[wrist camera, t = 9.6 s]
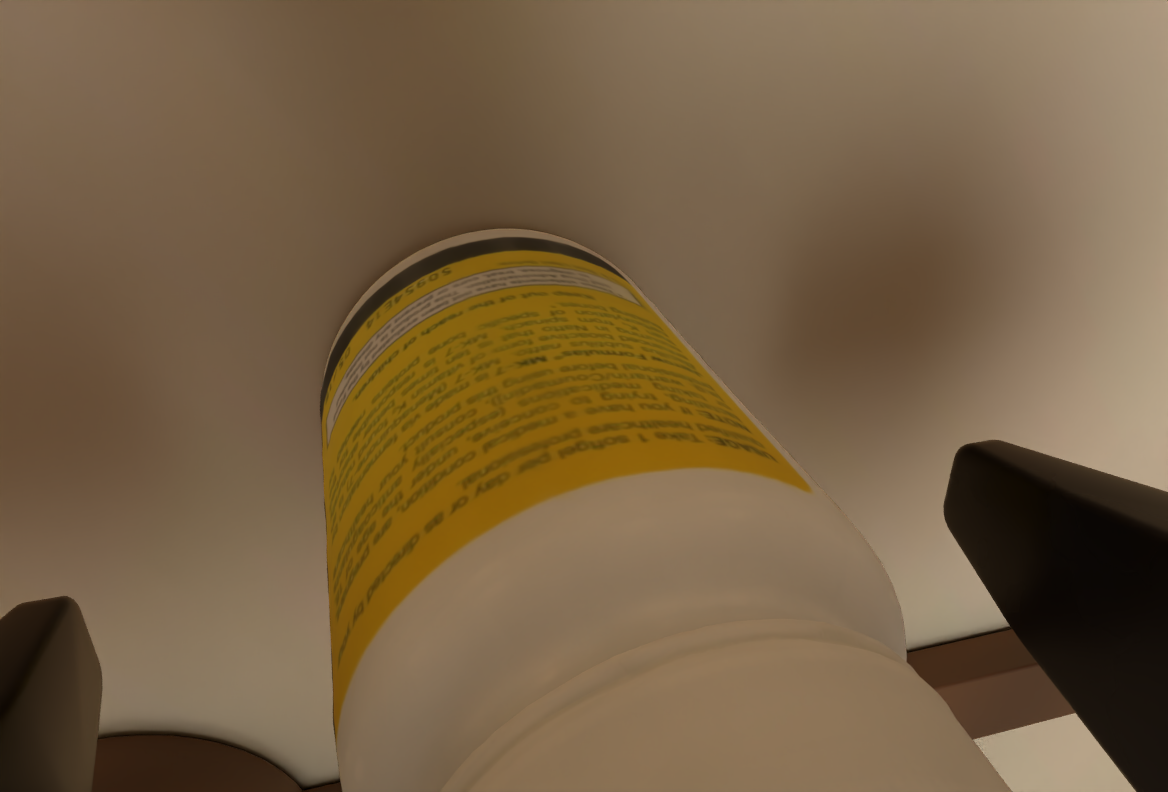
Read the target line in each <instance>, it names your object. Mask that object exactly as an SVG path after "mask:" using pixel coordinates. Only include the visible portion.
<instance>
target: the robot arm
mask: <svg viewBox="0 0 1168 792" xmlns="http://www.w3.org/2000/svg"><path fill="white" fill-rule="evenodd" d="M944 517H945V521H946V523H947V526H948V528H949V530H950V531H951V533H952V535H953V536H954V538H955V539H956V541H957V542H958V544H959V546H960V547H961V549H962V550H963V552H964V554H965V555H966V557H967V558H968V560H969V562H970V563H971V565H972V566H973V568H974V569H975V571H976V573H977V574H978V576H979V577H980V579H981V581H982V582H983V584H984V585H985V587H986V589H987V590H988V592H989V593H990V595H991V596H992V598H993V600H994V601H995V603H996V604H997V606H998V608H999V609H1000V611H1001V612H1002V614H1003V616H1004V617H1005V619H1006V620H1007V622H1008V623H1009V625H1010V626H1011V628H1012V629H1013V631H1014V632H1015V634H1016V635H1017V637H1018V638H1019V640H1020V641H1021V642H1022V644H1023V645H1024V646H1025V648H1026V649H1027V651H1028V652H1029V653H1030V655H1031V656H1032V657H1033V659H1034V660H1035V661H1036V662H1037V664H1038V665H1039V666H1040V668H1041V669H1042V670H1043V671H1044V673H1045V674H1046V675H1047V677H1048V678H1049V679H1050V681H1051V682H1052V683H1053V684H1054V686H1055V687H1056V688H1057V690H1058V691H1059V692H1060V694H1061V695H1062V696H1063V697H1064V699H1065V700H1066V701H1067V703H1068V704H1069V705H1070V706H1071V708H1072V709H1073V710H1074V712H1075V713H1076V714H1077V716H1078V717H1079V718H1080V719H1081V721H1082V722H1083V723H1084V725H1085V726H1086V727H1087V729H1088V730H1089V731H1090V732H1091V734H1092V735H1093V736H1094V738H1095V739H1096V740H1097V741H1098V743H1099V744H1100V745H1101V747H1102V748H1103V749H1104V751H1105V752H1106V753H1107V754H1108V756H1109V757H1110V758H1111V760H1112V761H1113V762H1114V763H1115V765H1116V766H1117V767H1118V769H1119V770H1120V771H1121V773H1122V774H1123V775H1124V776H1125V778H1126V779H1127V780H1128V782H1129V783H1130V784H1131V786H1132V787H1133V788H1134V789H1135V791H1136V792H1168V492H1166V491H1163V490H1159V489H1156V488H1153V487H1150V486H1146V485H1143V484H1140V483H1137V482H1133V481H1130V480H1127V479H1124V478H1120V477H1117V476H1114V475H1111V474H1107V473H1104V472H1101V471H1098V470H1094V469H1091V468H1088V467H1085V466H1081V465H1078V464H1075V463H1072V462H1068V461H1065V460H1062V459H1059V458H1055V457H1052V456H1049V455H1046V454H1042V453H1039V452H1036V451H1033V450H1029V449H1026V448H1023V447H1020V446H1016V445H1013V444H1010V443H1007V442H1003V441H999V440H988V441H982V442H976V443H970V444H966V445H964V446H962V447H960V449H959V450H958V451H957V453H956V455H955V457H954V461H953V466H952V470H951V474H950V479H949V483H948V488H947V492H946V496H945V501H944ZM101 699H102V672H101V667H100V663H99V660H98V657H97V654H96V652H95V649H94V646H93V643H92V641H91V638H90V635H89V632H88V629H87V627H86V624H85V621H84V618H83V616H82V613H81V610H80V608H79V606H78V604H77V603H76V602H75V600H74V599H72V598H70V597H68V596H60V597H54V598H48V599H42V600H36V601H30V602H25V603H22V604H19V605H17V606H16V607H15V608H13V609H12V610H11V611H9V612H8V613H7V614H6V615H5V616H4V617H2V618H1V619H0V792H92V787H93V778H94V768H95V758H96V748H97V738H98V728H99V718H100V708H101Z"/></svg>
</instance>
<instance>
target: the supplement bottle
mask: <svg viewBox="0 0 1168 792" xmlns="http://www.w3.org/2000/svg"><path fill="white" fill-rule="evenodd" d="M320 417H321V432H322V457H323V474H324V506H325V517H326V535H327V573H328V591H329V609H330V632H331V654H332V679H333V726H334V734H335V742H336V752H337V759H338V767H339V775H340V781H341V786H342V792H1012V791H1011V789H1010V788H1009V787H1008V786H1007V784H1006V783H1005V782H1004V780H1003V779H1002V778H1001V776H1000V775H999V774H998V772H997V771H996V770H995V768H994V767H993V766H992V764H991V763H990V762H989V760H988V759H987V758H986V756H985V755H984V754H983V752H982V751H981V750H980V749H979V747H978V746H977V745H976V744H975V742H974V741H973V740H972V738H971V737H970V736H969V735H968V733H967V732H966V731H965V730H964V728H963V727H962V726H961V724H960V723H959V722H958V721H957V719H956V718H955V716H954V714H953V713H952V711H951V709H950V708H949V706H948V704H947V703H946V702H945V701H944V700H943V698H942V697H941V696H940V695H939V694H938V692H936V691H935V690H934V689H933V688H932V687H931V686H930V685H929V684H928V683H926V682H925V681H924V680H923V679H922V678H921V677H920V676H919V675H918V674H917V673H916V671H915V670H914V669H913V668H912V667H911V666H910V665H909V664H908V663H907V662H906V661H907V652H906V640H905V630H904V621H903V616H902V612H901V608H900V605H899V602H898V599H897V596H896V593H895V590H894V588H893V585H892V583H891V581H890V579H889V577H888V574H887V572H886V570H885V569H884V567H883V565H882V563H881V561H880V560H879V558H878V557H877V555H876V554H875V552H874V551H873V549H872V548H871V546H870V545H869V543H868V542H867V541H866V540H865V538H864V537H863V536H862V534H861V533H860V532H859V531H858V529H857V528H856V527H855V526H854V525H853V523H852V522H851V521H850V520H849V519H848V517H847V516H846V515H845V514H844V513H843V512H842V511H841V510H840V508H839V507H838V506H837V505H836V504H835V503H834V502H833V501H832V500H831V499H830V497H829V496H828V495H827V494H826V493H825V492H824V491H823V490H822V489H821V488H820V487H819V485H818V484H817V483H816V482H815V481H814V480H813V479H812V478H811V477H810V476H809V475H808V474H807V472H806V471H805V470H804V469H803V468H802V467H801V466H800V465H799V464H798V463H797V462H796V461H795V460H794V458H793V457H792V456H791V455H790V454H789V453H788V452H787V451H786V450H785V449H784V448H783V447H782V446H781V445H780V443H779V442H778V441H777V440H776V439H775V438H774V437H773V436H772V435H771V434H770V433H769V432H768V431H767V429H766V428H765V427H764V426H763V425H762V424H761V423H760V422H759V421H758V420H757V419H756V418H755V417H754V416H753V415H752V414H751V412H750V411H749V410H748V409H747V408H746V407H745V406H744V405H743V404H742V403H741V402H740V400H739V399H738V398H737V397H736V396H735V395H734V394H733V393H732V392H731V390H730V389H729V388H728V387H727V386H726V385H725V384H724V383H723V382H722V380H721V379H720V378H719V377H718V376H717V375H716V374H715V373H714V371H713V370H712V369H711V368H710V367H709V366H708V365H707V364H706V362H705V361H704V360H703V359H702V358H701V357H700V356H699V355H698V353H697V352H696V351H695V350H694V349H693V348H692V347H691V346H690V345H689V344H688V343H687V342H686V340H685V339H684V338H683V337H682V336H681V335H680V334H679V333H678V332H677V330H676V329H675V328H674V327H673V326H672V325H671V324H670V323H669V321H668V320H667V319H666V318H665V317H664V316H663V315H662V313H661V312H660V311H659V310H658V308H657V307H656V306H655V305H654V304H653V303H652V302H651V301H650V300H649V299H648V298H647V297H646V296H645V294H644V293H643V292H642V291H641V290H640V289H639V288H638V286H637V285H636V284H635V283H634V282H633V281H632V280H631V279H630V278H629V277H628V276H627V275H626V274H625V273H623V272H622V271H621V270H620V269H619V268H617V267H616V266H615V265H614V264H612V263H611V262H610V261H608V260H607V259H605V258H604V257H602V256H601V255H599V254H597V253H595V252H594V251H592V250H590V249H588V248H586V247H584V246H582V245H580V244H578V243H575V242H573V241H571V240H568V239H565V238H562V237H559V236H556V235H552V234H549V233H545V232H539V231H534V230H525V229H490V230H482V231H476V232H471V233H465V234H461V235H457V236H454V237H451V238H448V239H445V240H442V241H439V242H437V243H435V244H432V245H430V246H428V247H426V248H424V249H421V250H419V251H417V252H416V253H414V254H412V255H411V256H409V257H408V258H406V259H404V260H403V261H401V262H400V263H398V264H397V265H395V266H394V267H393V268H391V269H390V270H389V271H387V272H386V273H385V274H384V275H383V276H382V277H380V278H379V279H378V280H377V281H376V282H375V283H374V284H373V285H372V286H371V287H370V288H369V289H368V290H367V291H366V292H365V293H364V295H363V296H362V297H361V298H360V300H359V301H358V302H357V303H356V305H355V306H354V307H353V309H352V310H351V312H350V313H349V314H348V316H347V318H346V319H345V321H344V323H343V325H342V326H341V328H340V330H339V332H338V334H337V336H336V338H335V340H334V343H333V345H332V348H331V351H330V353H329V356H328V360H327V363H326V367H325V372H324V377H323V384H322V390H321V401H320Z"/></svg>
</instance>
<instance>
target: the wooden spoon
mask: <svg viewBox="0 0 1168 792" xmlns="http://www.w3.org/2000/svg"><path fill="white" fill-rule="evenodd" d="M906 662H907V663H908V664H909V665H910V666H911V667H912V668H913V669H914V670H915V671H916V673H917V674H918V675H919V676H920V677H921V678H922V679H923V680H924V681H925V682H926V683H928V684H929V685H930V686H931V687H932V688H933V689H934V690H935V691H936V692H938V694H939V695H940V696H941V697H942V698H943V700H944V701H945V702H946V703H947V704H948V706H949V708H950V709H951V711H952V713H953V714H954V716H955V718H956V719H957V721H958V722H959V723H960V724H961V726H962V727H963V728H964V730H965V731H966V732H967V733H968V735H969V736H970V737H971V738H972V740H973V739H977V738H981V737H985V736H988V735H992V734H996V733H1000V732H1004V731H1008V730H1012V729H1015V728H1019V727H1023V726H1027V725H1031V724H1035V723H1039V722H1042V721H1046V720H1050V719H1054V718H1058V717H1062V716H1065V715H1069V714H1073V713H1075V712H1074V710H1073V709H1072V708H1071V706H1070V705H1069V704H1068V703H1067V701H1066V700H1065V699H1064V697H1063V696H1062V695H1061V694H1060V692H1059V691H1058V690H1057V688H1056V687H1055V686H1054V684H1053V683H1052V682H1051V681H1050V679H1049V678H1048V677H1047V675H1046V674H1045V673H1044V671H1043V670H1042V669H1041V668H1040V666H1039V665H1038V664H1037V662H1036V661H1035V660H1034V659H1033V657H1032V656H1031V655H1030V653H1029V652H1028V651H1027V649H1026V648H1025V646H1024V645H1023V644H1022V642H1021V641H1020V640H1019V638H1018V637H1017V635H1016V634H1015V632H1014V631H1013V629H1010V630H1005V631H1001V632H997V633H992V634H988V635H984V636H979V637H975V638H970V639H966V640H962V641H957V642H953V643H949V644H944V645H940V646H935V647H931V648H927V649H922V650H918V651H913V652H909V653H907V661H906ZM92 792H342V786H341V782H339V783H335V784H331V785H326V786H322V787H317V788H313V789H309V790H304V791H303V790H302V789H301V788H300V787H299V786H298V785H297V784H296V782H295V781H293V780H292V779H291V778H290V777H289V776H287V775H286V774H285V773H284V772H283V771H281V770H280V769H278V768H277V767H275V766H273V765H272V764H270V763H268V762H267V761H265V760H264V759H261V758H259V757H257V756H255V755H252V754H250V753H248V752H246V751H243V750H240V749H237V748H234V747H231V746H228V745H224V744H221V743H217V742H212V741H207V740H202V739H197V738H189V737H179V736H170V735H132V736H118V737H108V738H102V739H97V748H96V758H95V768H94V778H93V787H92Z"/></svg>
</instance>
